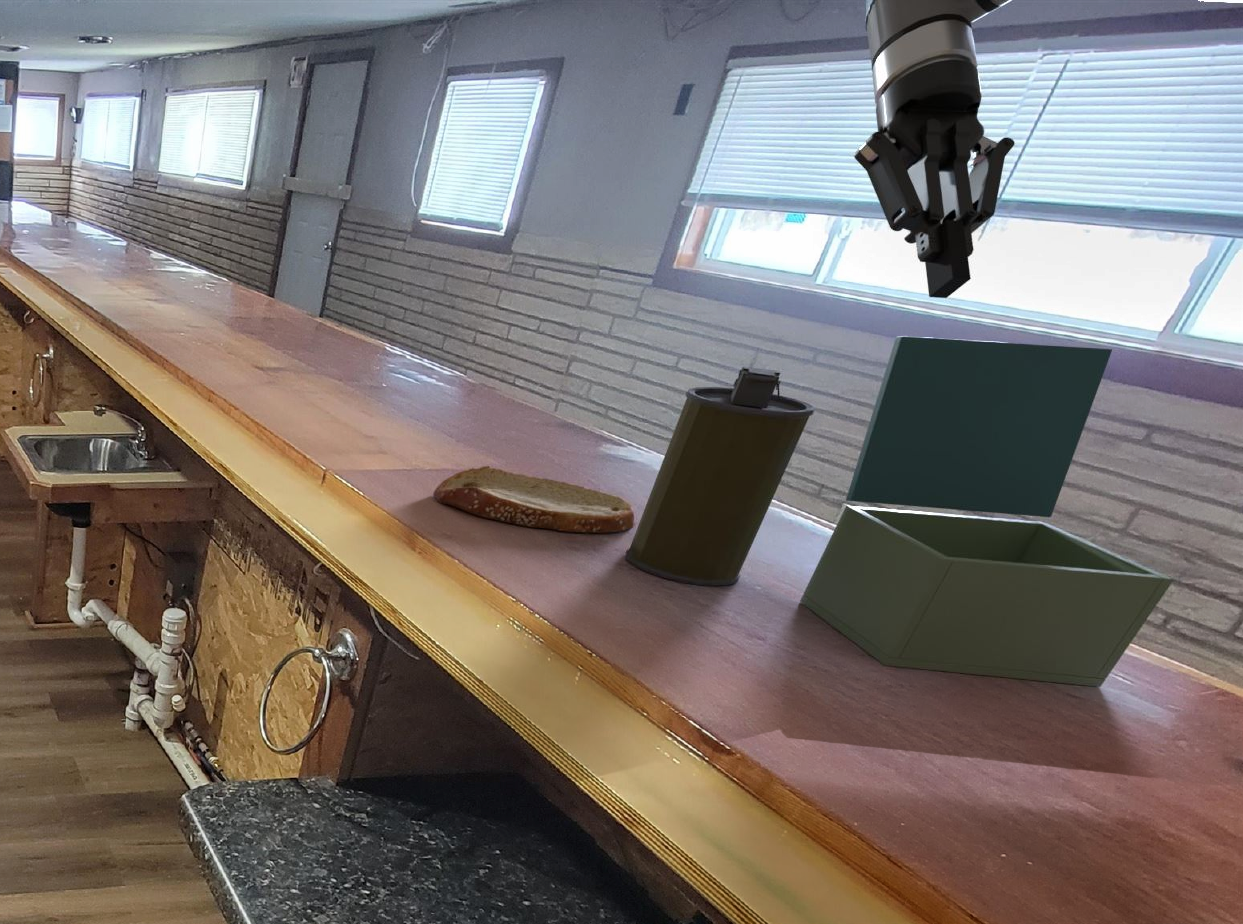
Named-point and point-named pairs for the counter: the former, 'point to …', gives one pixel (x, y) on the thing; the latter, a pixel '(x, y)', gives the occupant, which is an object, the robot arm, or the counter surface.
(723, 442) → the canister
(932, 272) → the robot arm
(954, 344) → the lid
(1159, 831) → the counter surface
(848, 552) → the box
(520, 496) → the bread slice
